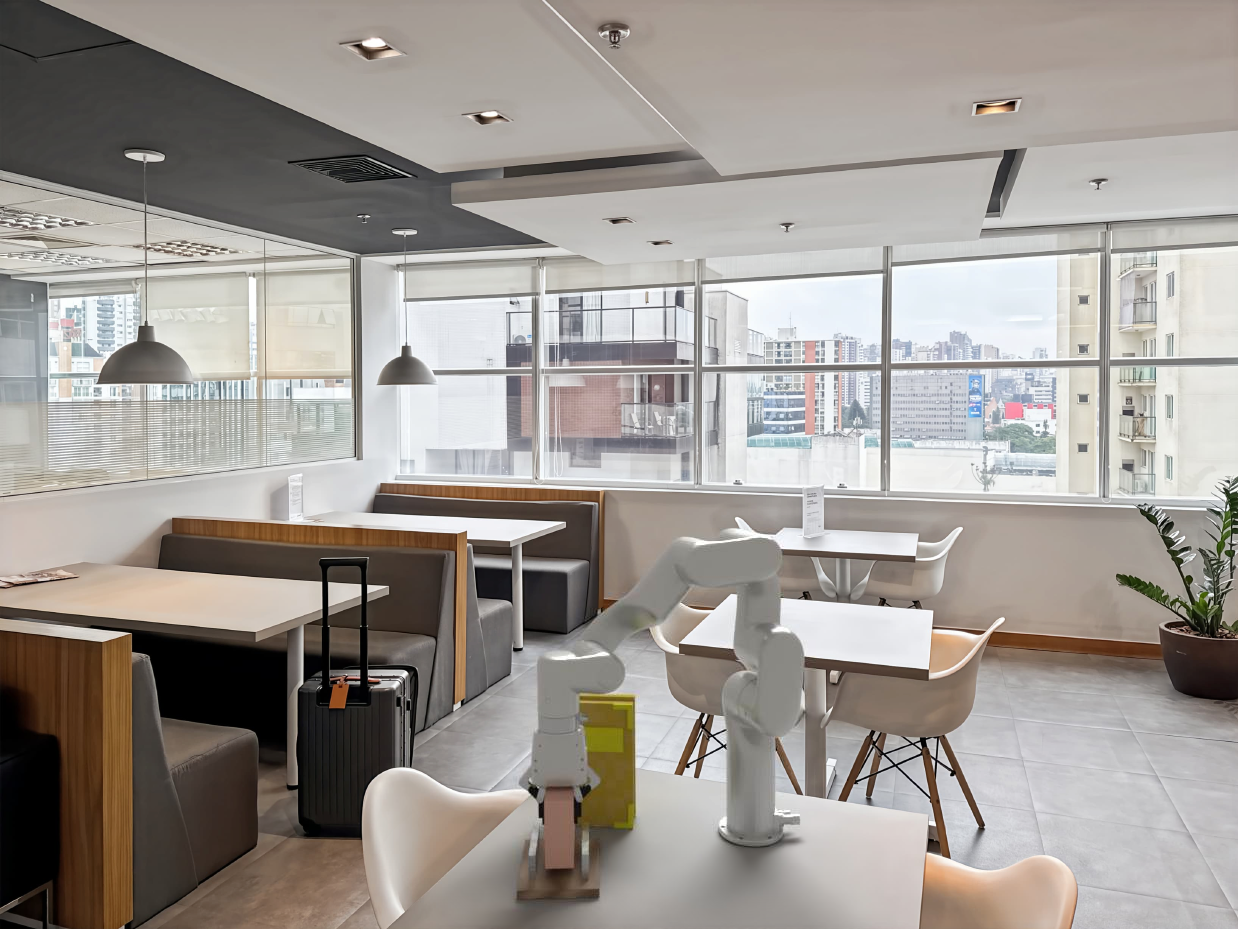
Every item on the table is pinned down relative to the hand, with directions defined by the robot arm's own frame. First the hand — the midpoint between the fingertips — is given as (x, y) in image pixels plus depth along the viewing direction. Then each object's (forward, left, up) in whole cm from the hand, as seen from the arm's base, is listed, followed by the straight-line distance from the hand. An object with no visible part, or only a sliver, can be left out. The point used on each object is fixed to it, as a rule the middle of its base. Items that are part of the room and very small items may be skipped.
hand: (560, 820), depth 154 cm
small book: (0, 0, -6) cm, 6 cm away
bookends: (0, 0, -8) cm, 8 cm away
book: (-6, -20, -10) cm, 23 cm away
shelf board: (0, 0, -9) cm, 9 cm away
